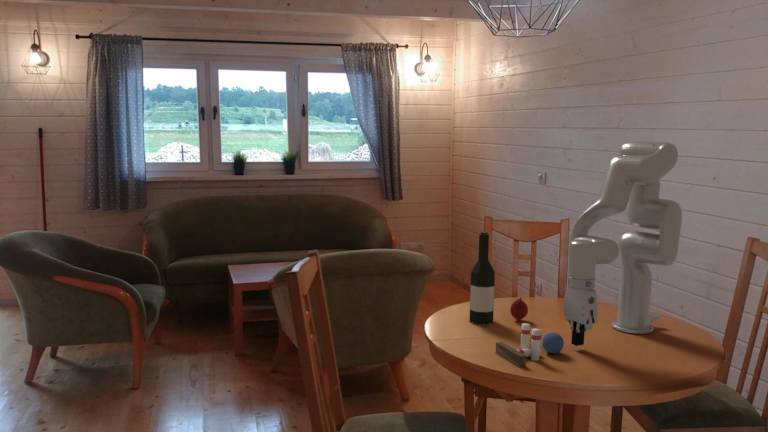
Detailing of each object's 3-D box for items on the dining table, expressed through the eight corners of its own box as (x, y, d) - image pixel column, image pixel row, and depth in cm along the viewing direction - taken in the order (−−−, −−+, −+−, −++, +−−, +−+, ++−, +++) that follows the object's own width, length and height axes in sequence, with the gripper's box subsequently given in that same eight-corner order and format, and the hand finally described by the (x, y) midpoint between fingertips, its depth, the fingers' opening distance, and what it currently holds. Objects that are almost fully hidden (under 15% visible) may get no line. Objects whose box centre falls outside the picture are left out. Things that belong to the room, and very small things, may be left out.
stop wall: (501, 351, 186) (501, 341, 186) (525, 366, 175) (526, 355, 175) (495, 352, 186) (495, 342, 185) (519, 367, 175) (519, 356, 174)
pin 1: (525, 351, 187) (527, 322, 186) (530, 354, 185) (532, 325, 183) (518, 352, 186) (519, 323, 185) (523, 355, 184) (524, 326, 182)
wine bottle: (474, 325, 211) (477, 234, 207) (465, 318, 219) (467, 230, 215) (498, 323, 213) (501, 233, 209) (488, 316, 221) (491, 229, 217)
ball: (534, 337, 186) (542, 353, 188) (547, 344, 181) (555, 360, 183) (550, 325, 188) (557, 341, 190) (563, 332, 182) (571, 348, 184)
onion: (527, 323, 213) (528, 300, 212) (509, 322, 214) (510, 299, 213) (527, 318, 219) (528, 295, 218) (510, 317, 220) (510, 294, 219)
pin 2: (536, 357, 182) (537, 328, 181) (541, 360, 180) (542, 330, 179) (528, 358, 181) (529, 329, 180) (533, 361, 179) (535, 331, 178)
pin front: (537, 345, 185) (512, 348, 181) (542, 348, 183) (517, 352, 179) (536, 353, 185) (511, 357, 182) (541, 356, 183) (516, 360, 180)
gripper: (609, 288, 181) (605, 351, 183) (574, 276, 195) (571, 335, 197) (587, 290, 178) (584, 354, 181) (553, 278, 192) (551, 338, 194)
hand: (577, 344), depth 189 cm, fingers closed
